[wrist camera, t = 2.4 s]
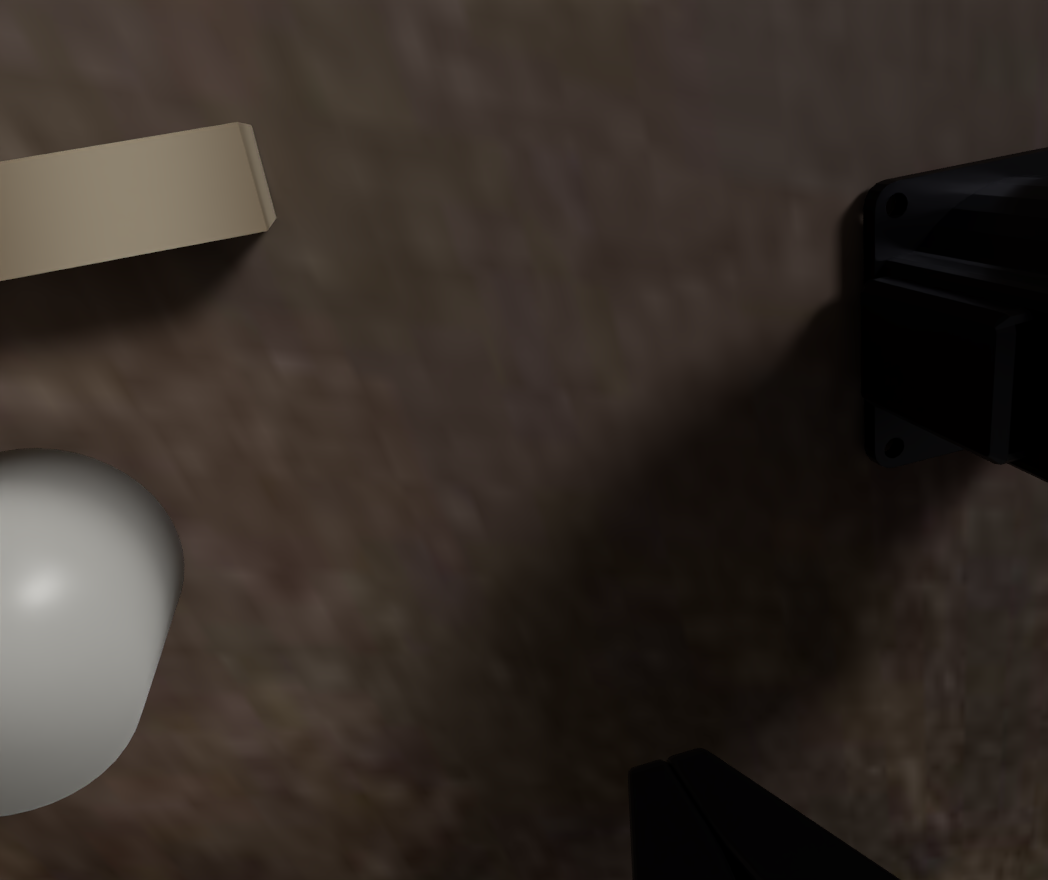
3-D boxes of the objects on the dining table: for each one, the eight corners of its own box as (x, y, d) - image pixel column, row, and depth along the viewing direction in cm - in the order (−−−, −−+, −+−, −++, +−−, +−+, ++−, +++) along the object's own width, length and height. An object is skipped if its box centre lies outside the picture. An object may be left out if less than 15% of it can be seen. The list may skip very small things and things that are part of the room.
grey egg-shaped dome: (138, 420, 16) (80, 505, 12) (215, 636, 18) (186, 766, 14) (-145, 482, 15) (-299, 593, 11) (-32, 700, 17) (-133, 856, 13)
